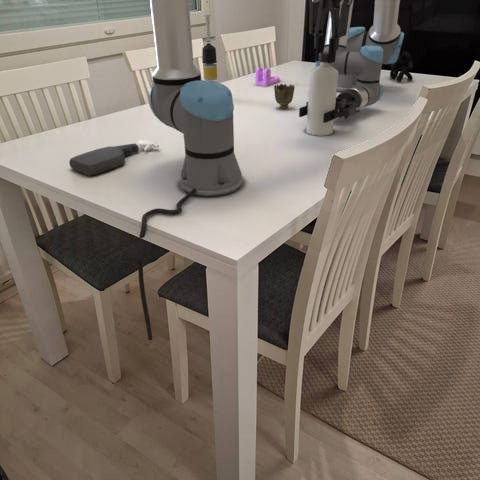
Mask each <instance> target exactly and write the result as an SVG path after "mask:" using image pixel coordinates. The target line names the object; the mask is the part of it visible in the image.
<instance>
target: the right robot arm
mask: <svg viewBox="0 0 480 480" xmlns="http://www.w3.org/2000/svg"><path fill="white" fill-rule="evenodd" d="M354 2H355V0H353V1H352V3H351V5H350V11H349V18H348V25H347V32H346V35H345V36H343V37H340V39H339V48H338V50H337V51H336V57H335V62H333V63H329V65H331V66H332V67H333V68H335V69H336V70H337V71H338V82H337V92H339V94H338V95H337V96H336V103H335V109H334V110H332V111H329V112H327V113H324V119H323V122H324V123H326V122H329V121H331V120H334V121H335V120H337V119H342V118H344V119H347V120H348V119H349V118H351V117H352V116H353V115H355V114H357V113H359V112H360V110H361V109H363V108H366V107H369V106H372V105H374V104H376V103H377V102H379V101H380V100H381V99H382V97H383V94H384V89H383V86H382V84H381V83H380V81H381V80H380V79H381V72H382V68H383V65H387V64H393V63H395V62H396V61H397V59H398V56H400V52H401V48H402V45H403V40H404V38H405V37H404V36H405V33H404V32H403V31H401V27H400V25H399V24H398V18H399V10H400V2H401V0H374V9H373V10H374V11H373V24H372V25H371V27H370V28H369V30H367V31H366V27H364V26H353V27H351V21H352V14H353V8H354ZM341 6H342V0H341V2H340V11H339V16H340V13H341ZM331 37H332V27H331V13H330V11H329V10H328V18H327V25H326V33H325V38H324V47H323V52H328V51H329V39H331ZM320 63H321V62H319V61H315V68H316V67H317V66H319V65H320ZM307 112H308V101H306V102H305V105H303V106H301V107H299V109H298V117H299V118H303V117H305V116H307Z"/></svg>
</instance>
